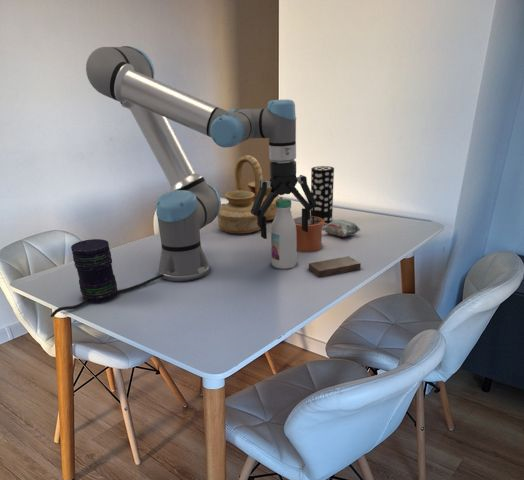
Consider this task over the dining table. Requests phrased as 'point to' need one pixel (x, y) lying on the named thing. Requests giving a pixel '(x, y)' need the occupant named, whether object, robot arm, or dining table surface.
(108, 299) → the storage jar
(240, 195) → the ceramic vessel
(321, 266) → the walnut board
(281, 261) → the milk bottle
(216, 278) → the dining table surface
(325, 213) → the white-spotted black cylinder
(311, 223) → the flower pot
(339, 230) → the packaged food
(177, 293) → the dining table surface
